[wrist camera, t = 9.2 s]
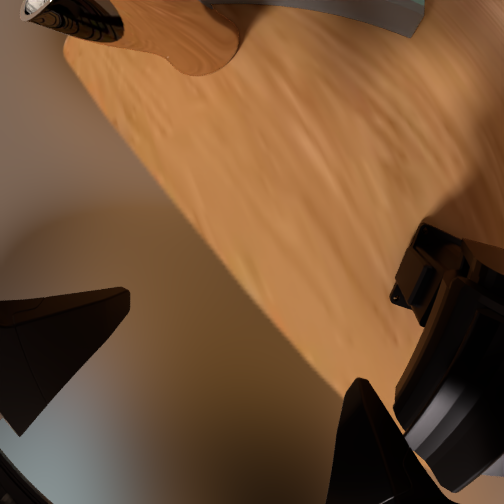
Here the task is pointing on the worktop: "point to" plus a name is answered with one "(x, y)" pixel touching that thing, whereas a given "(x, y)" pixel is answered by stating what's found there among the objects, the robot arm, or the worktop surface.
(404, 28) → the bay
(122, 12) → the beer glass
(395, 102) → the worktop surface
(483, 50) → the worktop surface
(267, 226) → the worktop surface
